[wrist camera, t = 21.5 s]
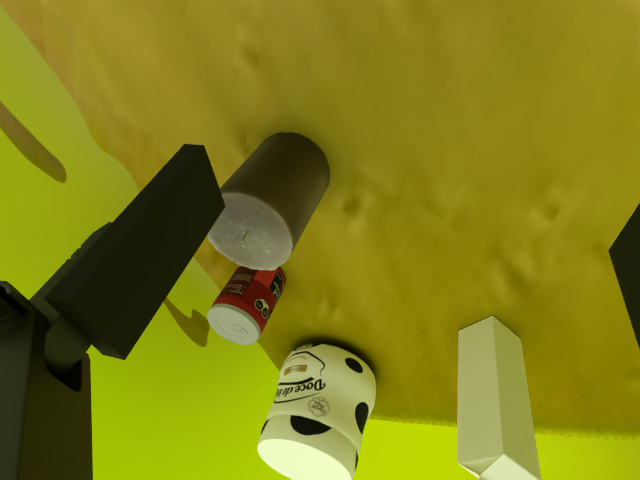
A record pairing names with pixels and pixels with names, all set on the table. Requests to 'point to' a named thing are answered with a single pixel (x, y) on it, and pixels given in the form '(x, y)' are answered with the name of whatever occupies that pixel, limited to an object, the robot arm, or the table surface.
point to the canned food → (246, 304)
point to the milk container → (318, 414)
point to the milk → (494, 405)
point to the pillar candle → (270, 202)
